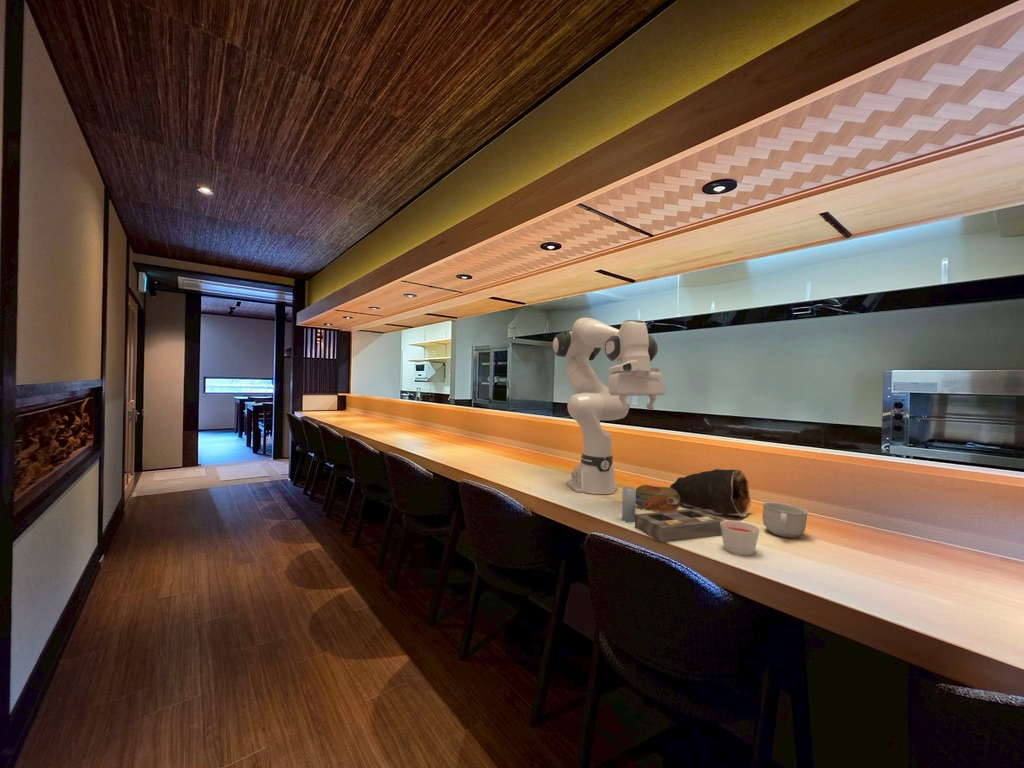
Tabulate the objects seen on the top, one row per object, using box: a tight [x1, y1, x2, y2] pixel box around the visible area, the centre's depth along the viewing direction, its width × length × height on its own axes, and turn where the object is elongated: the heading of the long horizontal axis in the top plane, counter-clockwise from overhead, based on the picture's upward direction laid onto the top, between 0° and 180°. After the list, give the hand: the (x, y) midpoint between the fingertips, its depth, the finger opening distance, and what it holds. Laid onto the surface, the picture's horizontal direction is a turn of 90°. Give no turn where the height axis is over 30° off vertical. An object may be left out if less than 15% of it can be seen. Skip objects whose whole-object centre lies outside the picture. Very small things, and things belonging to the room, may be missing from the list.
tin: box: [635, 484, 681, 512], centre depth 141 cm, size 15×3×8 cm, turn 62°
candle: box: [720, 519, 761, 556], centre depth 108 cm, size 9×9×6 cm
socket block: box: [634, 508, 726, 543], centre depth 121 cm, size 12×22×4 cm, turn 109°
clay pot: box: [669, 468, 752, 518], centre depth 145 cm, size 15×15×25 cm
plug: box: [621, 486, 637, 523], centre depth 130 cm, size 4×4×10 cm
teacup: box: [762, 501, 809, 539], centre depth 120 cm, size 14×11×8 cm
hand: (638, 409), depth 137 cm, fingers open, 8 cm apart
